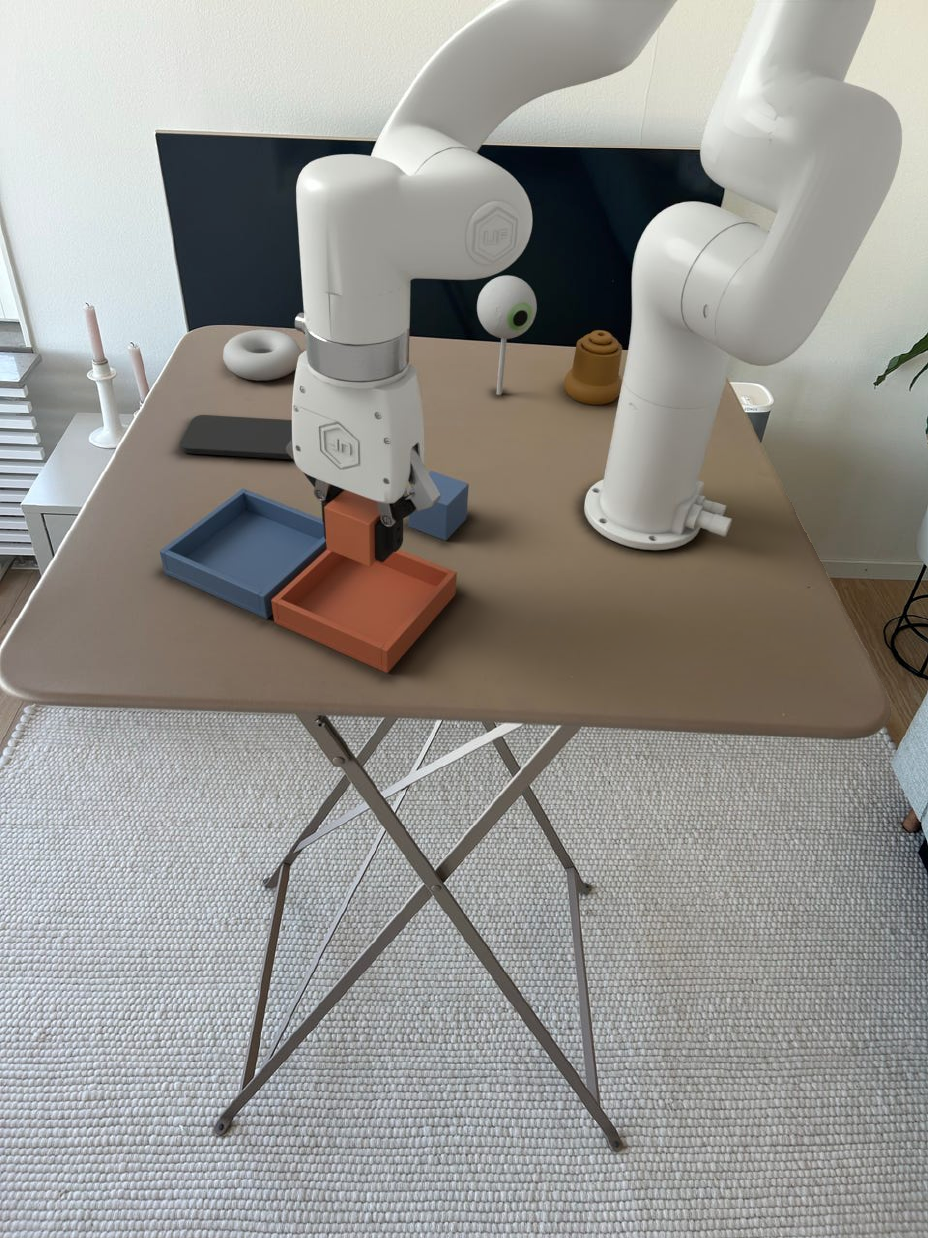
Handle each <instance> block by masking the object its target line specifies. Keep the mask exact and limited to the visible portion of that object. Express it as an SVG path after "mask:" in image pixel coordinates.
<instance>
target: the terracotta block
mask: <svg viewBox="0 0 928 1238" xmlns="http://www.w3.org/2000/svg"><path fill="white" fill-rule="evenodd" d="M393 504H394V503H393ZM324 510H325V527H326V543H327V549H328V550H330V551H333V552H335V553H338V554H340V555H343V556H345V557H347V558H350V559H352V560H355V561H357V562H360V563H362V564H364V565H367V566H369V567H370V566H372V565H373V564H374V563H375V562H376V561H377V560H376V558H375V525H376V523H377V522H378V521H379V520H380V515H379V511H378V507H377V503H376V501H374V500H371V499H369V498H366V497H363V496H361V495H358V494H355V493H353V492H350V491H347V490H344V491H343V492H342V493H340V494H339V495H338V496H337V497H336V498H334V499H333V500H332V501H331V502H330V503H329V504H327V505H326V506H325V507H324Z"/></svg>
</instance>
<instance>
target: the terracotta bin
mask: <svg viewBox="0 0 928 1238" xmlns="http://www.w3.org/2000/svg"><path fill="white" fill-rule="evenodd" d="M457 575H458V572H457V571H455V570H452V569H450V568H448V567H445V566H442V565H440V564H437V563H434V562H432V561H429V560H426V559H424V558H422V557H420V556H416V555H414V554H411V553H409V552H407V551H404V550H401V549H399V550H398V551H396V552H393V553H392V554H391V555H390V556H389V557H388V558H387V559H386V560H385V561H384V562H383V563H382V562H380V561H376V562H375V563H374V564H373V565H372V566H370V567H369V566H367V565H364V564H362V563H360V562H357V561H355V560H352V559H350V558H347V557H345V556H343V555H340V554H338V553H335V552H333V551H330V550H328V549H327V550H326V551H325V552H323V553H322V554H321V555H320V556H319V557H318V558H317V559H316V560H315V561H314V562H313V563H311V564H310V565H309V566H308V567H307V568H306V569H305V570H304V571H303V572H302V573H300V574H299V575H298V576H297V577H296V578H295V579H294V580H293V581H292V582H291V583H290V584H288V585H287V586H286V587H285V588H284V589H283V590H282V591H281V592H280V593H279V594H278V595H276V596H275V597H274V598H273V599H272V600H271V602H272V609H273V614H272V617H273V623H274V624H276V625H279V626H281V627H282V628H284V629H287V630H290V631H292V632H294V633H297V634H298V635H300V636H303V637H305V638H308V639H309V640H312V641H314V642H317V643H318V644H321V645H323V646H325V647H328V648H330V649H332V650H335V651H336V652H339V653H341V654H343V655H346V656H348V657H350V658H352V659H355V660H357V661H359V662H361V663H362V664H366V665H368V666H370V667H372V668H375V669H377V670H379V671H381V672H384V673H385V674H389V672H391V670H392V669H393V667H394V666H395V665H396V664H397V663H398V662H399V661H400V660H401V659H402V658H403V656H404V655H405V654H406V653H407V652H408V650H409V649H410V648H411V647H412V646H413V645H414V643H415V642H416V641H417V640H418V639H419V637H421V635H422V634H423V633H424V632H425V631H426V629H427V628H428V627H429V626H430V625H431V624H432V622H433V621H434V620H435V619H436V618H437V617H438V615H439V614H440V613H441V612H442V611H443V609H444V608H445V607H446V606H447V605H448V604H449V603H450V601H451V600H452V599H453V598H454V597H455V595H456V594H457V593H456V591H457V590H456V589H457Z"/></svg>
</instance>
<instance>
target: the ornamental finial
mask: <svg viewBox="0 0 928 1238" xmlns="http://www.w3.org/2000/svg"><path fill="white" fill-rule="evenodd" d="M622 353H623V345H622V344H621V343H619V341H618V340H617V338H615V337H614V336H613V335H612V334H611V333H610V332H609V331H606V330H600V329H597V330H593V331H592V332H591V333H587V334H586V335H584V336H583V337H581V338H580V339H578V340H577V342H576V345H575V352H574V356H573V362H572V366H571V368H570V369H569V370H568V372H566V375H565V376H564V381H563V386H564V389H565V391H566V393H567V395H569V396H570V398H572V399H573V400H575V401H577V402H579V403H582V404H586V405H591V406H601V405H606V404H609V403H612V402H613V401H616V400H617V398H618V397H619V396H620V391H621V386H622V380H623V379H622V378H621V376H620V368H621V361H622V360H621V359H622Z"/></svg>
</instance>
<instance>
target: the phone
mask: <svg viewBox="0 0 928 1238" xmlns="http://www.w3.org/2000/svg"><path fill="white" fill-rule="evenodd" d="M291 440H292V419H281V418H280V419H279V418H264V417H247V416H231V415H213V414H199V415H196V416H194V417H193V418H191V421H190V422H189V425H188V426H187V428H186V430H185V431H184V434H183V436H182V438H181V440H180V442H179V447H180V450H181V451H182V452H183V453H186V454H194V455H195V454H197V455H213V456H228V457H229V456H231V457H246V458H247V457H250V458H262V459H263V458H265V459H283V460H293V459H292V458H291V457H290V455H289V454H288V453H287V452H286V446H287V445H288V444H289V442H290V441H291Z"/></svg>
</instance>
